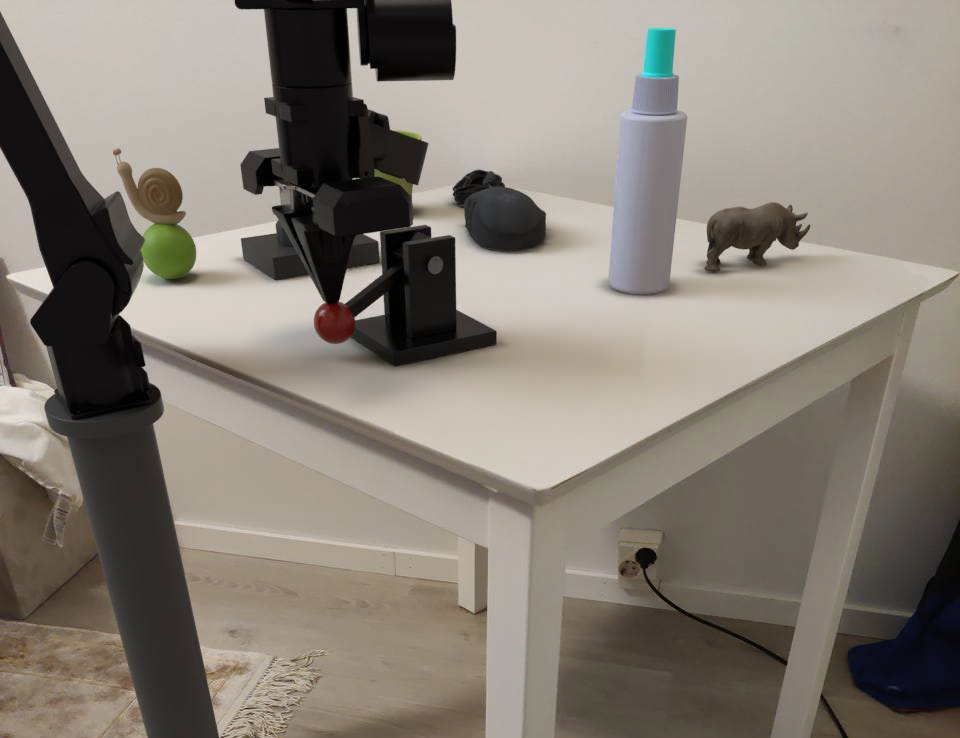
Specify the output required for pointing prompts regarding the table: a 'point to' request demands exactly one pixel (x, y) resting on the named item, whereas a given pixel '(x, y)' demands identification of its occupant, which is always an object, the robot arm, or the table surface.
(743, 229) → the rhino figurine
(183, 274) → the snail figurine
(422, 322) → the switch bracket
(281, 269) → the box
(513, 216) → the dark rounded piece
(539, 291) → the table surface
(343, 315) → the lever
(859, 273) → the table surface
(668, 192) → the spray bottle
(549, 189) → the table surface
